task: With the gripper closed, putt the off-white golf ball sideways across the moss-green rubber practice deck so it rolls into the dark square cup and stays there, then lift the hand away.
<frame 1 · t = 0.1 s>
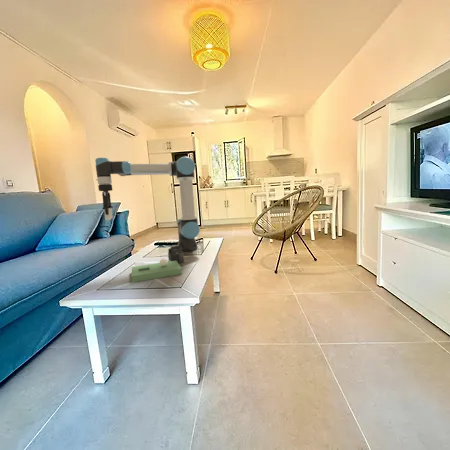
hand: (109, 219, 150), 28 cm above the table, fingers open, 13 cm apart
golf ball: (163, 262, 129), point 5 cm above the table, touching practice deck
practice deck: (156, 273, 129), on the table
camera: (176, 262, 149), on the table
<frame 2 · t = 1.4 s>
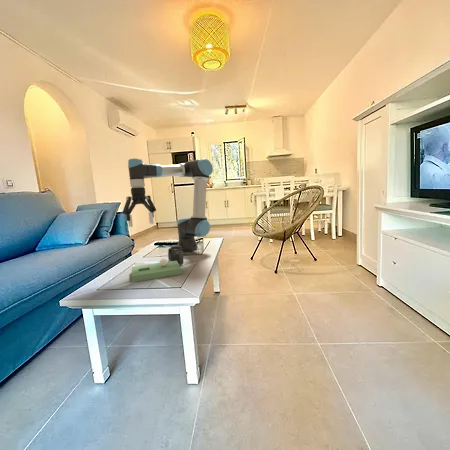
hand: (141, 225, 139), 24 cm above the table, fingers open, 13 cm apart
nothing on the table moved.
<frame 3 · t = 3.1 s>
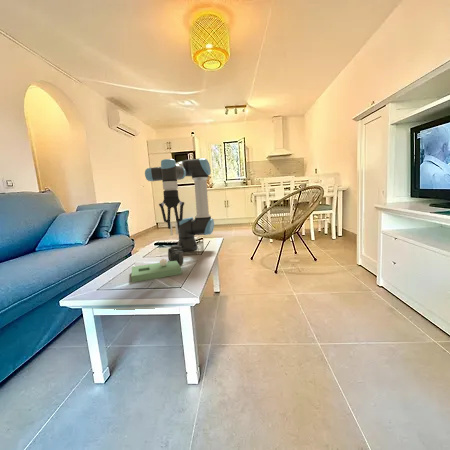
hand: (174, 234, 130), 19 cm above the table, fingers open, 2 cm apart
nothing on the table moved.
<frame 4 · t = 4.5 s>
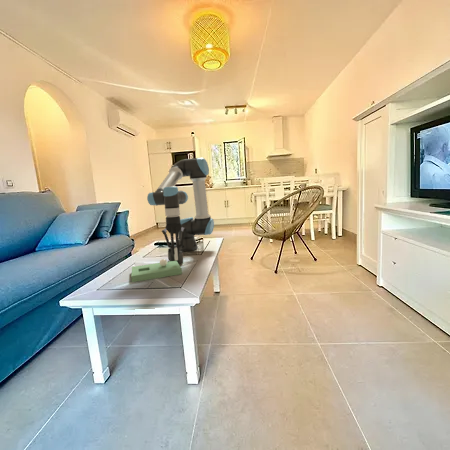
hand: (176, 259, 131), 6 cm above the table, fingers closed
nothing on the table moved.
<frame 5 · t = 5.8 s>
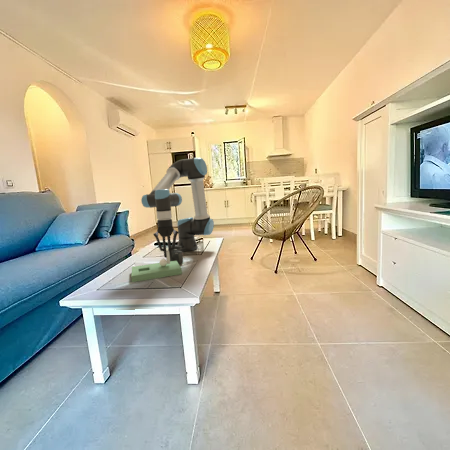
hand: (168, 262, 130), 5 cm above the table, fingers closed
golf ball: (163, 262, 129), point 5 cm above the table, touching gripper, practice deck
everything else where it was.
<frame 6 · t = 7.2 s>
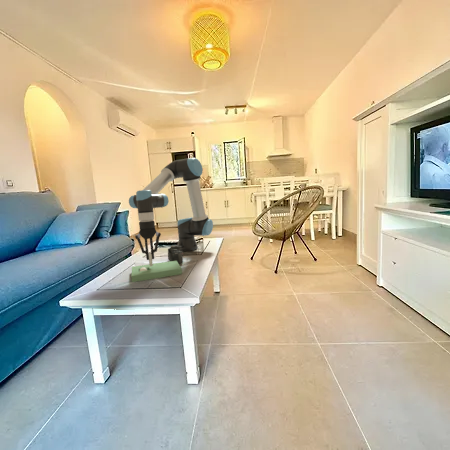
hand: (151, 265, 127), 4 cm above the table, fingers closed
golf ball: (143, 271, 126), point 2 cm above the table, tilted 41°, touching practice deck
everything else where it was.
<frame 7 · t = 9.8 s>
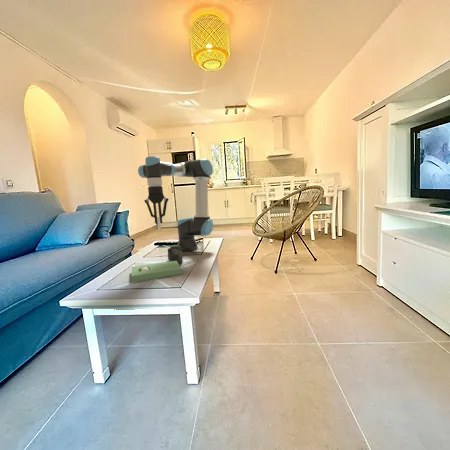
hand: (159, 229, 135), 22 cm above the table, fingers closed
golf ball: (145, 271, 126), point 2 cm above the table, tilted 67°, touching practice deck
everything else where it was.
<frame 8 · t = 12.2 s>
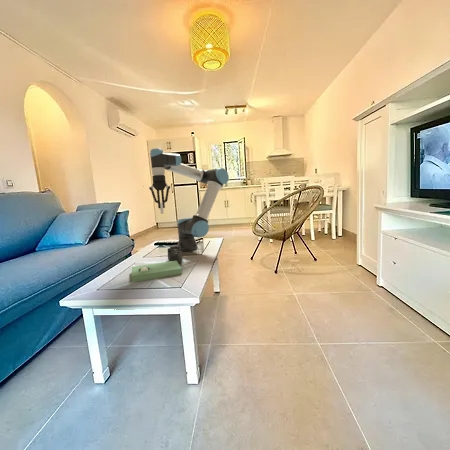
hand: (162, 213, 152), 29 cm above the table, fingers closed
golf ball: (144, 271, 126), point 2 cm above the table, tilted 56°, touching practice deck
everything else where it was.
at the end: golf ball 0.6 cm from the target spot on the practice deck, point 2.2 cm above the practice deck's base; golf ball point 2.2 cm above the table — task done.
